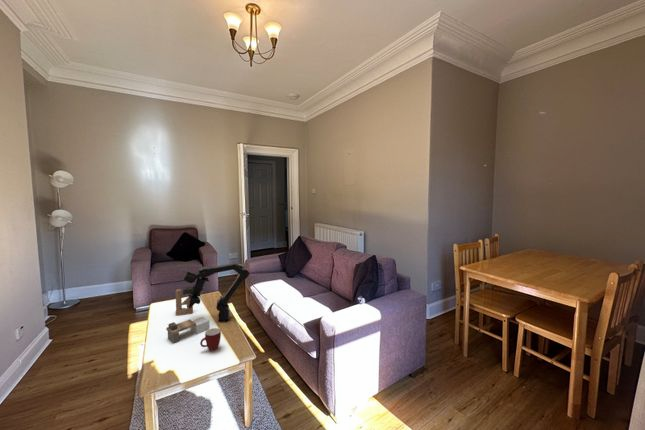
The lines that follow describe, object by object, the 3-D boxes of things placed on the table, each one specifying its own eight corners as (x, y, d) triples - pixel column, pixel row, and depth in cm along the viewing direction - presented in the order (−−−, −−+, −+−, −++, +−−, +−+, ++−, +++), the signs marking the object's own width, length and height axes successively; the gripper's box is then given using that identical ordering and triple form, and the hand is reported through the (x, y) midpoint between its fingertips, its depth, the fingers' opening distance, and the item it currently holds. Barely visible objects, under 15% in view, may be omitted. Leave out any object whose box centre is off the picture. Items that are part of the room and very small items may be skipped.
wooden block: (192, 313, 192) (191, 289, 191) (175, 315, 189) (174, 291, 187) (193, 311, 196) (192, 287, 194) (176, 313, 192) (175, 289, 191)
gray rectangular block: (203, 325, 176) (202, 316, 176) (209, 328, 171) (209, 320, 171) (167, 338, 160) (167, 329, 159) (173, 343, 155) (173, 334, 154)
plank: (190, 321, 169) (189, 315, 169) (196, 325, 164) (196, 319, 164) (166, 330, 159) (166, 323, 158) (172, 334, 154) (172, 327, 153)
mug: (202, 356, 142) (202, 338, 142) (199, 349, 149) (198, 332, 148) (223, 349, 149) (222, 332, 148) (218, 343, 155) (218, 326, 154)
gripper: (186, 277, 181) (176, 299, 180) (186, 287, 165) (175, 311, 164) (203, 281, 186) (193, 302, 186) (204, 292, 170) (194, 315, 169)
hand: (189, 307), depth 176 cm, fingers closed
